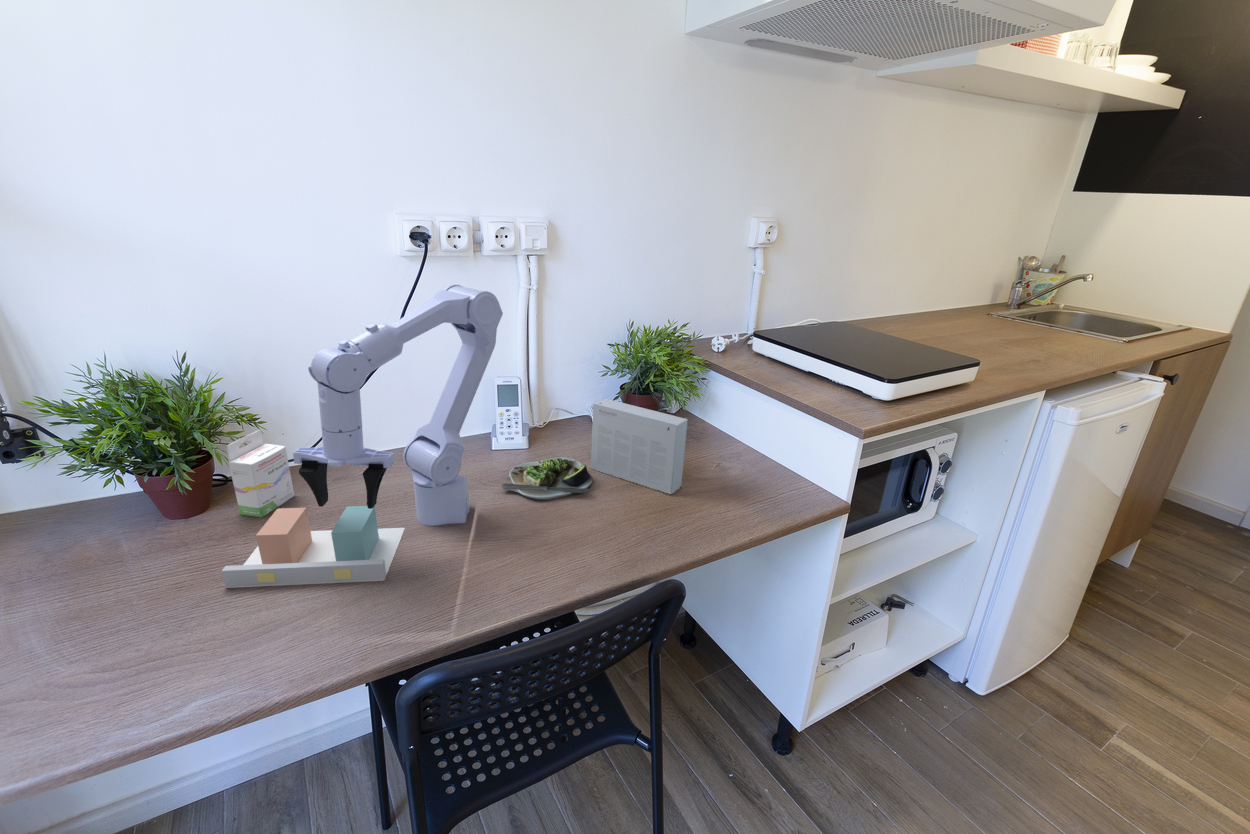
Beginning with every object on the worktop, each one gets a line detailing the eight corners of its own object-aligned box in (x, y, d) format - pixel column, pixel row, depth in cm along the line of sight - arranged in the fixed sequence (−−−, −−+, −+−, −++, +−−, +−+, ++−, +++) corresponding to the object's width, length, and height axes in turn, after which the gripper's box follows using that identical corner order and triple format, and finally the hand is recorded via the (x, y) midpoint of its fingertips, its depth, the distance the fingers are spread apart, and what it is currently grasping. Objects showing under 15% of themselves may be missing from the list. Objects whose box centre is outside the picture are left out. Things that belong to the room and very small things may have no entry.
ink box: (263, 522, 107) (247, 449, 101) (240, 518, 107) (222, 446, 102) (297, 499, 114) (283, 430, 109) (275, 496, 115) (260, 427, 110)
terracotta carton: (312, 540, 100) (306, 507, 98) (294, 568, 93) (286, 534, 91) (283, 541, 100) (276, 508, 97) (262, 570, 92) (254, 535, 90)
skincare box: (683, 486, 126) (689, 418, 120) (671, 496, 122) (677, 426, 116) (603, 460, 136) (604, 396, 130) (589, 468, 132) (590, 403, 126)
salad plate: (510, 513, 114) (509, 492, 112) (491, 473, 129) (490, 454, 127) (602, 497, 121) (603, 477, 119) (574, 460, 136) (574, 443, 134)
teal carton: (379, 537, 102) (374, 505, 99) (366, 565, 94) (361, 531, 92) (351, 538, 101) (345, 506, 99) (336, 567, 94) (330, 532, 91)
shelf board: (405, 532, 105) (403, 513, 104) (384, 585, 92) (382, 564, 90) (269, 537, 102) (265, 517, 101) (226, 593, 88) (220, 571, 87)
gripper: (280, 432, 86) (289, 514, 90) (381, 438, 87) (386, 518, 91) (302, 417, 92) (309, 494, 97) (396, 422, 94) (399, 498, 98)
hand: (347, 504), depth 95 cm, fingers open, 7 cm apart
